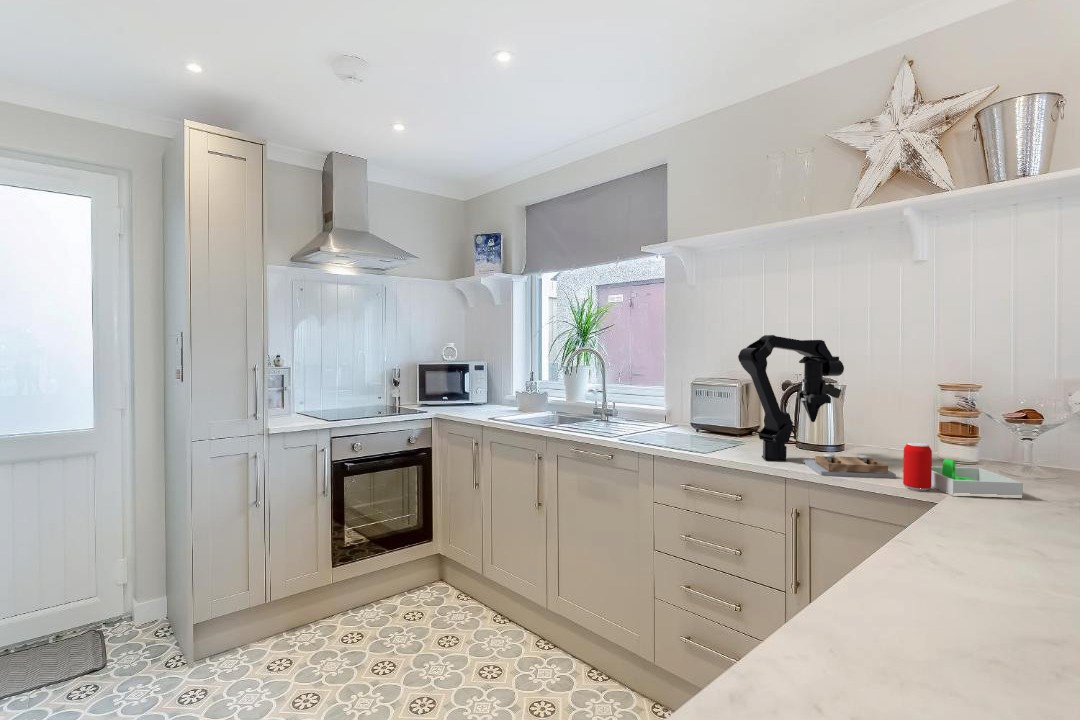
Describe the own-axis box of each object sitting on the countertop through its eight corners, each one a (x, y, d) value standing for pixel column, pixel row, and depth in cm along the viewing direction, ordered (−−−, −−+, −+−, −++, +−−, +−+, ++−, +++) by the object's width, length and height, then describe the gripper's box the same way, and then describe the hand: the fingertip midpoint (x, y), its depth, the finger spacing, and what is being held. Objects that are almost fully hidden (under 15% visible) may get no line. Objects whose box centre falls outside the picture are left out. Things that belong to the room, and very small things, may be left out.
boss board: (821, 475, 162) (821, 460, 162) (802, 462, 180) (802, 449, 179) (895, 478, 158) (896, 462, 158) (869, 464, 176) (869, 450, 176)
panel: (828, 470, 161) (828, 463, 161) (815, 462, 173) (815, 455, 173) (888, 472, 159) (888, 465, 159) (870, 463, 171) (870, 457, 171)
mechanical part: (970, 494, 141) (971, 463, 141) (942, 490, 146) (942, 460, 145) (977, 486, 150) (977, 457, 150) (950, 482, 154) (950, 454, 154)
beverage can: (927, 493, 142) (928, 446, 142) (899, 488, 147) (900, 443, 147) (934, 489, 146) (934, 444, 146) (907, 484, 151) (907, 441, 151)
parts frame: (952, 496, 139) (953, 480, 139) (918, 480, 156) (918, 466, 156) (1022, 499, 137) (1022, 483, 137) (979, 482, 154) (980, 468, 154)
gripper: (848, 378, 178) (847, 426, 178) (830, 375, 196) (830, 419, 197) (811, 377, 180) (810, 425, 181) (796, 375, 199) (796, 418, 199)
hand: (812, 421), depth 189 cm, fingers closed
